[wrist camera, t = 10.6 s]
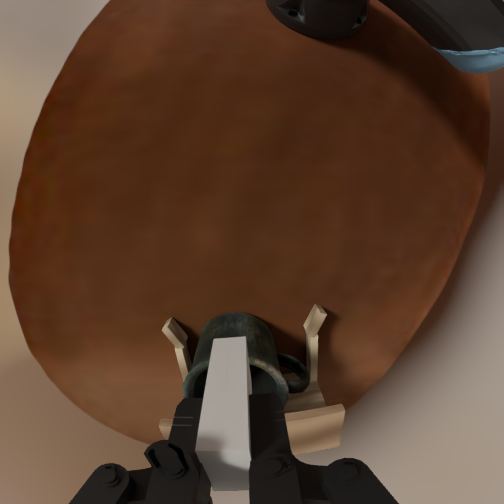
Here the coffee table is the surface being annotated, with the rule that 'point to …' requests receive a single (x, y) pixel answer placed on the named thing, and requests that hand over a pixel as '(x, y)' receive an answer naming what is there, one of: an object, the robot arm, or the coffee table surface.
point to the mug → (259, 354)
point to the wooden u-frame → (298, 405)
